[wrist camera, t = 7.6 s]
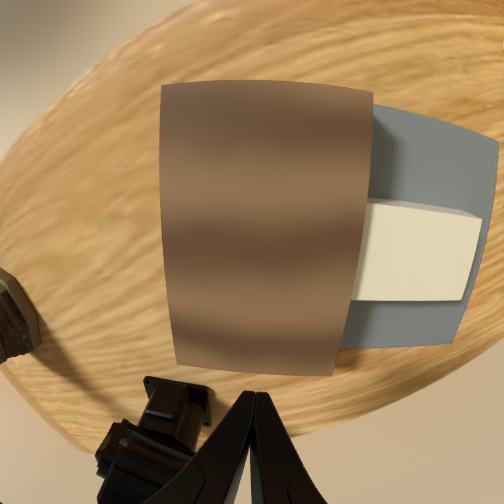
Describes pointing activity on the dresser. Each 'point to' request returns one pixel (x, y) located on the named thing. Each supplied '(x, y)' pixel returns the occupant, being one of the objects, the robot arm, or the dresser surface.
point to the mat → (430, 193)
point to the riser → (262, 220)
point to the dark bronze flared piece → (16, 320)
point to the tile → (414, 252)
